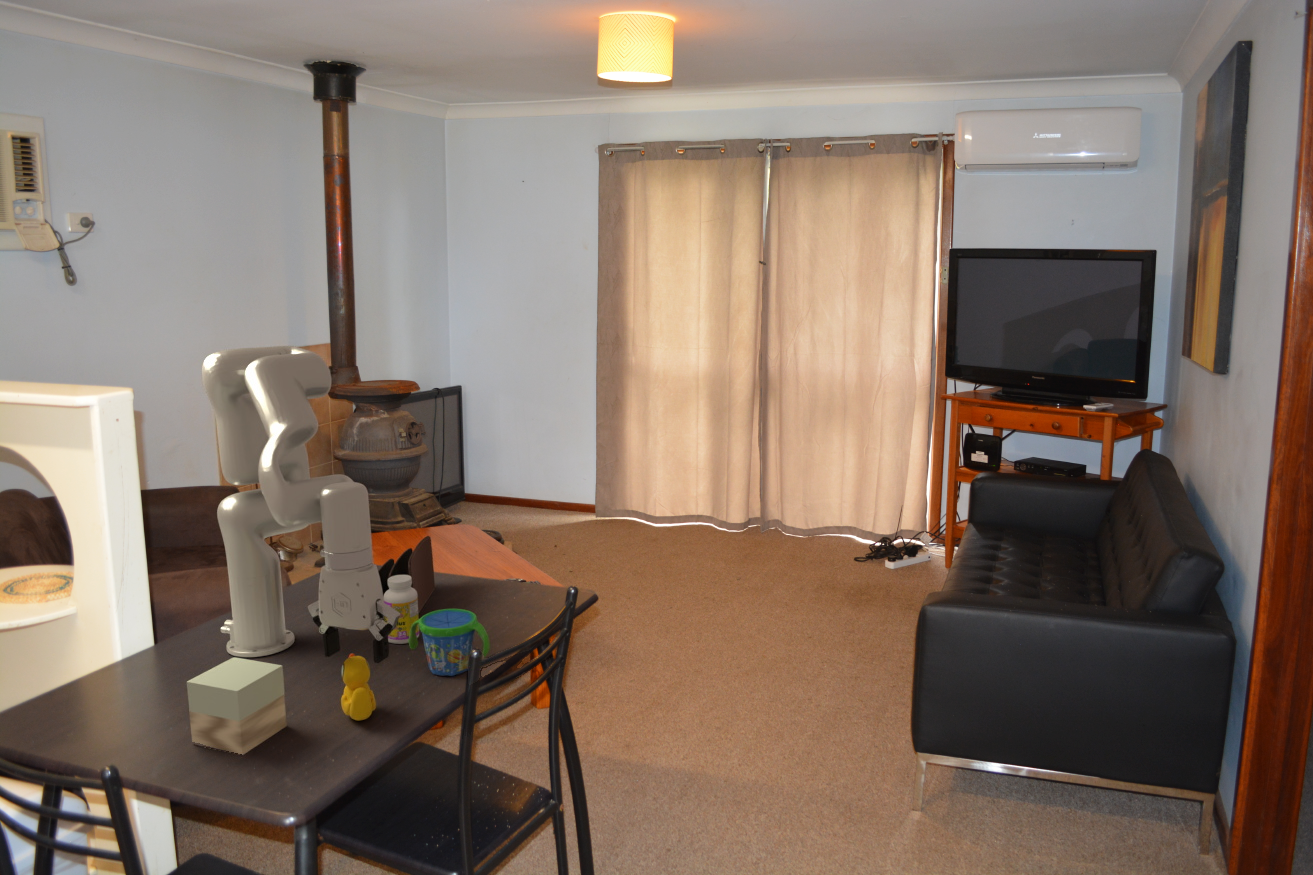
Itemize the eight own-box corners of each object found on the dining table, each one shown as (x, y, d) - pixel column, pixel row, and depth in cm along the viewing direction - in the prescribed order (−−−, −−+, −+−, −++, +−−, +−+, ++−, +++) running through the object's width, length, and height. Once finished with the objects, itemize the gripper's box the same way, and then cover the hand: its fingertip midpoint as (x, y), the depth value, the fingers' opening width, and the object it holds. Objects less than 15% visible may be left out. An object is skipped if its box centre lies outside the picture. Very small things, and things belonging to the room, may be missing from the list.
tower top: (189, 711, 153) (186, 681, 153) (236, 684, 163) (233, 656, 162) (239, 721, 150) (236, 690, 149) (284, 693, 159) (282, 665, 158)
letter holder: (435, 589, 227) (432, 530, 224) (415, 620, 207) (412, 557, 204) (392, 589, 226) (389, 531, 224) (369, 621, 207) (364, 557, 204)
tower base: (192, 745, 155) (188, 710, 154) (238, 717, 164) (235, 684, 163) (242, 756, 151) (239, 720, 150) (286, 727, 161) (283, 693, 160)
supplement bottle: (378, 642, 195) (375, 581, 193) (399, 630, 201) (395, 571, 199) (406, 647, 193) (402, 585, 190) (426, 634, 199) (423, 575, 196)
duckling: (338, 703, 168) (334, 649, 167) (370, 697, 171) (366, 644, 169) (346, 732, 158) (342, 674, 156) (380, 725, 160) (376, 669, 159)
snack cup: (500, 664, 184) (499, 613, 182) (471, 687, 174) (468, 633, 173) (431, 652, 190) (428, 603, 188) (398, 674, 180) (395, 622, 178)
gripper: (290, 560, 158) (299, 659, 161) (380, 568, 153) (387, 671, 155) (320, 548, 165) (328, 643, 168) (407, 555, 160) (414, 653, 162)
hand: (356, 656), depth 162 cm, fingers open, 9 cm apart
